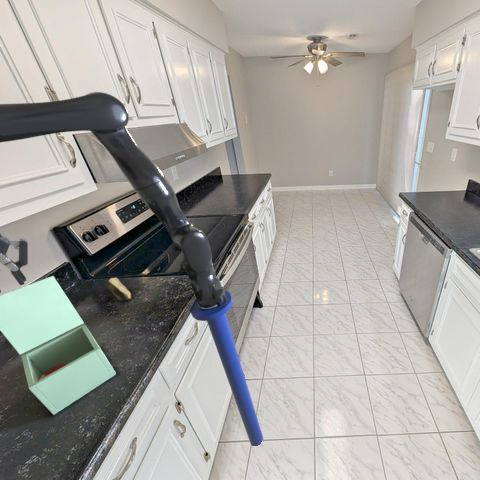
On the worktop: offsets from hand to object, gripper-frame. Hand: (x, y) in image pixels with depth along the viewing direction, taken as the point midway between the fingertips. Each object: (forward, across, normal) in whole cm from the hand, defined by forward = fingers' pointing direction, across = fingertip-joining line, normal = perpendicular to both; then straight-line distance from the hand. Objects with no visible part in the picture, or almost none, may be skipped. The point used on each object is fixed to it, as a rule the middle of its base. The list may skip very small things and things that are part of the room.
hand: (10, 287), depth 60 cm
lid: (+13, 0, +9) cm, 16 cm away
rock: (+33, +22, +35) cm, 53 cm away
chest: (+33, 0, 0) cm, 33 cm away
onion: (+31, 0, 0) cm, 31 cm away
